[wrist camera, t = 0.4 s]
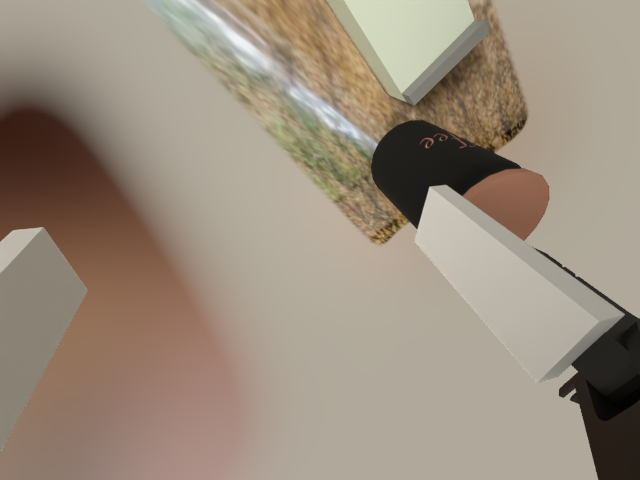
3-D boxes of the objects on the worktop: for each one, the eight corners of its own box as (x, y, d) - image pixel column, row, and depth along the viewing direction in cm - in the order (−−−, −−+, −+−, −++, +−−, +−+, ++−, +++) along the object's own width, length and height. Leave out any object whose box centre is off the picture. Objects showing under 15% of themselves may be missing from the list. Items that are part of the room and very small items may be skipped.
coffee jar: (451, 139, 40) (569, 197, 26) (405, 200, 44) (485, 278, 30) (399, 101, 35) (511, 149, 21) (353, 175, 39) (421, 254, 25)
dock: (308, -25, 26) (327, -39, 21) (383, -121, 23) (426, -164, 18) (386, 94, 34) (414, 105, 29) (448, 31, 31) (490, 31, 26)
